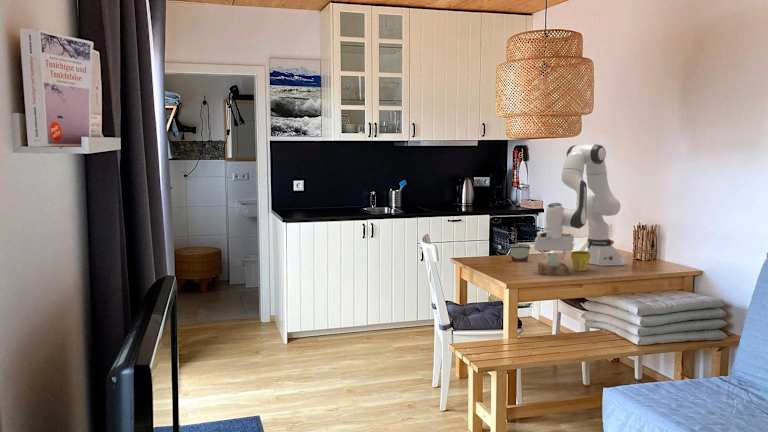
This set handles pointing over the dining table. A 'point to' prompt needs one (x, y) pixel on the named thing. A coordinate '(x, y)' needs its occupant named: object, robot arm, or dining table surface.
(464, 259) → the dining table surface
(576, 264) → the plant pot
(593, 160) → the robot arm
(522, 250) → the food container
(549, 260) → the sage block
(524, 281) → the dining table surface
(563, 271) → the walnut base
